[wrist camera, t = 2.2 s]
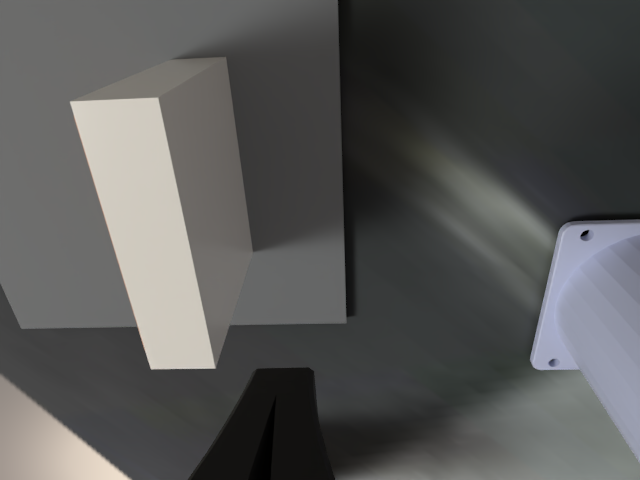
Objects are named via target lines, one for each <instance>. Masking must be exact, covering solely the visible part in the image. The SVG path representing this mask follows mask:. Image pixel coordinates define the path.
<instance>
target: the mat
mask: <svg viewBox="0 0 640 480" xmlns="http://www.w3.org/2000/svg"><path fill="white" fill-rule="evenodd" d="M213 57H226V60H227V67H228V75H229V82H230V89H231V96H232V104H233V111H234V118H235V126H236V133H237V140H238V147H239V155H240V162H241V169H242V176H243V184H244V191H245V198H246V206H247V213H248V220H249V227H250V235H251V242H252V249H253V254H252V257H251V260H250V263H249V266H248V269H247V272H246V275H245V278H244V282H243V285H242V288H241V291H240V294H239V297H238V300H237V303H236V306H235V310H234V313H233V316H232V319H231V322H230V325H263V324H321V323H346V288H345V251H344V213H343V176H342V139H341V101H340V64H339V27H338V0H0V283H1V285H2V288H3V290H4V292H5V294H6V296H7V299H8V301H9V303H10V305H11V307H12V309H13V312H14V314H15V316H16V318H17V320H18V323H19V325H20V327H21V329H34V328H92V327H138V326H137V323H136V320H135V317H134V313H133V310H132V307H131V303H130V300H129V297H128V293H127V290H126V287H125V284H124V280H123V277H122V274H121V270H120V267H119V264H118V261H117V257H116V254H115V251H114V247H113V244H112V241H111V238H110V234H109V231H108V228H107V224H106V221H105V218H104V214H103V211H102V208H101V205H100V201H99V198H98V195H97V191H96V188H95V185H94V182H93V178H92V175H91V172H90V168H89V165H88V162H87V159H86V155H85V152H84V149H83V145H82V142H81V139H80V135H79V132H78V129H77V126H76V122H75V119H74V114H73V110H72V107H71V104H70V101H72V100H75V99H77V98H79V97H82V96H84V95H87V94H89V93H91V92H94V91H96V90H99V89H101V88H103V87H106V86H108V85H111V84H113V83H115V82H118V81H120V80H123V79H125V78H127V77H130V76H132V75H135V74H137V73H139V72H142V71H144V70H147V69H149V68H152V67H154V66H156V65H159V64H161V63H164V62H166V61H168V60H172V59H192V58H213Z"/></svg>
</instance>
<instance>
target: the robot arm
mask: <svg viewBox="0 0 640 480" xmlns="http://www.w3.org/2000/svg"><path fill="white" fill-rule="evenodd" d="M586 230H589V232H588V234H587V235H585V236H582V237H580V236H581V234H582V232H584V231H586ZM552 359H554V360H553V361H550V360H552ZM530 361H531V363H532V365H533V367H534V368H536V369H539V370H570V369H580V370H581V372H582V374H583V375H584V377H585V378H586V380H587V381H588V383H589V384H590V386H591V388H592V389H593V391H594V392H595V394H596V395H597V397H598V399H599V400H600V402H601V403H602V405H603V406H604V408H605V409H606V411H607V413H608V414H609V416H610V417H611V419H612V420H613V422H614V424H615V425H616V427H617V428H618V430H619V431H620V433H621V434H622V436H623V438H624V439H625V441H626V442H627V444H628V445H629V447H630V449H631V450H632V452H633V453H634V455H635V456H636V458H637V459H638V461H639V463H640V219H637V220H602V221H572V222H568V223H566V224H564V225H563V226H562V227H561V228H560V230H559V233H558V237H557V242H556V246H555V251H554V255H553V259H552V264H551V268H550V273H549V277H548V282H547V286H546V290H545V295H544V299H543V304H542V308H541V313H540V317H539V321H538V326H537V330H536V335H535V339H534V343H533V348H532V352H531V357H530ZM188 480H335V478H334V475H333V472H332V469H331V466H330V462H329V459H328V456H327V452H326V448H325V445H324V441H323V437H322V433H321V430H320V425H319V421H318V411H317V400H316V389H315V378H314V371H313V370H311V369H310V368H267V369H256V370H255V371H254V372H253V373H252V375H251V377H250V380H249V382H248V383H247V385H246V387H245V389H244V391H243V393H242V395H241V397H240V399H239V400H238V402H237V404H236V406H235V407H234V409H233V411H232V413H231V414H230V416H229V418H228V419H227V421H226V423H225V424H224V426H223V428H222V429H221V431H220V432H219V434H218V436H217V437H216V439H215V440H214V442H213V444H212V445H211V447H210V448H209V450H208V451H207V453H206V454H205V456H204V457H203V459H202V460H201V462H200V463H199V464H198V466H197V467H196V469H195V470H194V472H193V473H192V474H191V476H190V477H189V479H188Z"/></svg>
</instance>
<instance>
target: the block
mask: <svg viewBox="0 0 640 480" xmlns="http://www.w3.org/2000/svg"><path fill="white" fill-rule="evenodd" d="M70 104H71V107H72V110H73V114H74V119H75V122H76V126H77V129H78V132H79V135H80V139H81V142H82V145H83V149H84V152H85V155H86V159H87V162H88V165H89V168H90V172H91V175H92V178H93V182H94V185H95V188H96V191H97V195H98V198H99V201H100V205H101V208H102V211H103V214H104V218H105V221H106V224H107V228H108V231H109V234H110V238H111V241H112V244H113V247H114V251H115V254H116V257H117V261H118V264H119V267H120V270H121V274H122V277H123V280H124V284H125V287H126V290H127V293H128V297H129V300H130V303H131V307H132V310H133V313H134V317H135V320H136V323H137V326H138V330H139V333H140V336H141V340H142V343H143V346H144V349H145V351H146V354H147V358H148V361H149V364H150V368H151V369H207V368H216V365H217V362H218V359H219V356H220V353H221V350H222V347H223V344H224V341H225V337H226V334H227V331H228V328H229V325H230V322H231V319H232V316H233V313H234V310H235V306H236V303H237V300H238V297H239V294H240V291H241V288H242V285H243V282H244V278H245V275H246V272H247V269H248V266H249V263H250V260H251V257H252V254H253V249H252V242H251V235H250V227H249V220H248V213H247V206H246V198H245V191H244V184H243V176H242V169H241V162H240V155H239V147H238V140H237V133H236V126H235V118H234V111H233V104H232V96H231V89H230V82H229V75H228V67H227V60H226V57H213V58H192V59H172V60H168V61H166V62H164V63H161V64H159V65H156V66H154V67H152V68H149V69H147V70H144V71H142V72H139V73H137V74H135V75H132V76H130V77H127V78H125V79H123V80H120V81H118V82H115V83H113V84H111V85H108V86H106V87H103V88H101V89H99V90H96V91H94V92H91V93H89V94H87V95H84V96H82V97H79V98H77V99H75V100H72V101H70Z"/></svg>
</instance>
